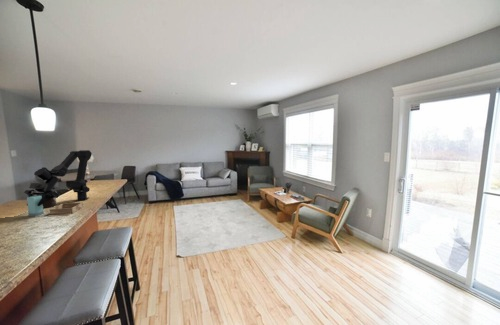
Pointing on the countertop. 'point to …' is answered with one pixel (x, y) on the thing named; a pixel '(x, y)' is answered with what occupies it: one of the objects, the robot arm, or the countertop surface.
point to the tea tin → (34, 206)
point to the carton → (65, 209)
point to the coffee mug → (49, 203)
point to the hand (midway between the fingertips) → (32, 205)
